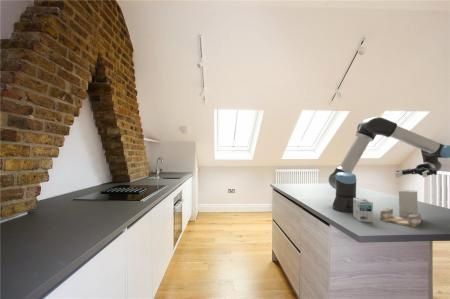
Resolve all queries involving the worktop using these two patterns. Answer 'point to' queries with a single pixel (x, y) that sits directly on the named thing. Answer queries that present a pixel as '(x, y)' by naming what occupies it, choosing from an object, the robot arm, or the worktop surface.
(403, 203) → the skincare box
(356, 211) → the light bulb box
